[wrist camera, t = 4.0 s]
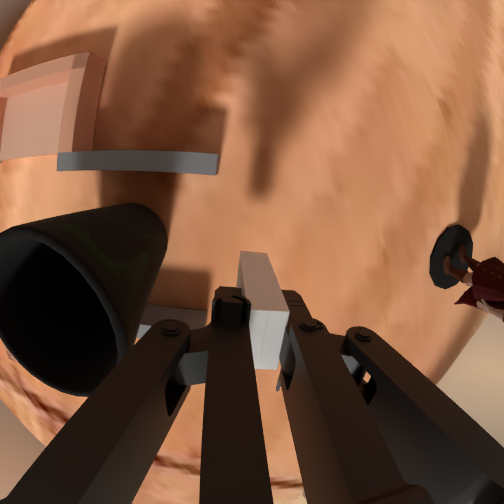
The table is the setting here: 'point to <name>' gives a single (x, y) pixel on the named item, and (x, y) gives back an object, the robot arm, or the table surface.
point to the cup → (78, 291)
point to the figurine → (455, 269)
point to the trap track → (82, 138)
